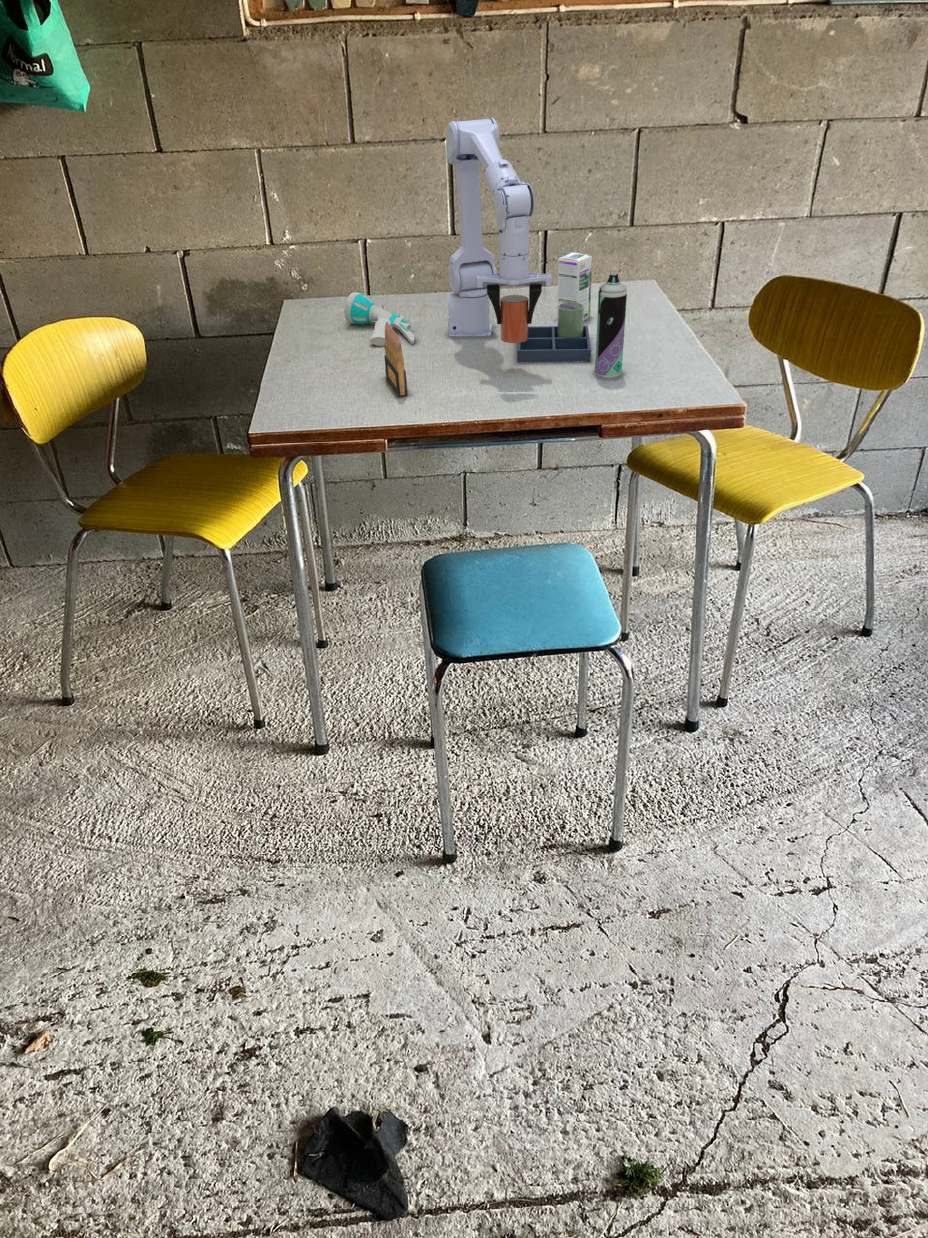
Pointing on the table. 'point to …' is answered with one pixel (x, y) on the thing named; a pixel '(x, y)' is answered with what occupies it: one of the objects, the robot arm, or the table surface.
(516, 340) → the terracotta cup
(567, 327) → the sage cup
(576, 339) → the cup rack
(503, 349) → the table surface
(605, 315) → the spray can
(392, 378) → the ammunition clip
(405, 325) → the garden hose nozzle
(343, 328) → the table surface
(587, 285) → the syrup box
